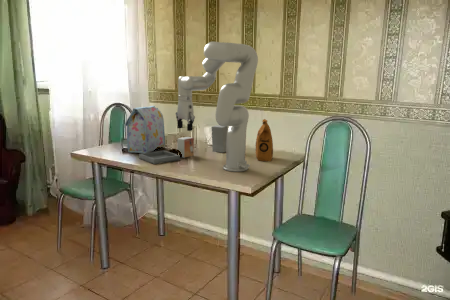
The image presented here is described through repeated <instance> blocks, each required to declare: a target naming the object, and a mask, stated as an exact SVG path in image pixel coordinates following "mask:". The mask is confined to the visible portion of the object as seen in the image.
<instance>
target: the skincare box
mask: <svg viewBox="0 0 450 300" xmlns="http://www.w3.org/2000/svg"><path fill="white" fill-rule="evenodd" d="M228 127H229V126H220V125H219V124H218V125H217V124H216V125H213V126H211V128H210V129H211V144H212V145H211V147H212V149H211V150H212V152H214V153H215V152H216V153H226V145H227V130H228Z"/></svg>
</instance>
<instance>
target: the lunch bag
mask: <svg viewBox="0 0 450 300" xmlns="http://www.w3.org/2000/svg"><path fill="white" fill-rule="evenodd" d="M124 125H125V127H126V144H127V145H126V147H127V152H128V153H130V154H131V153H136V154H137V153H139V154H142V153H149V152H155V151H156V150H155V149H156V148H157V147H158V146H161V145H163V146H164V147H165V145H166V140H165V139H166V137H165V135H166V134H165V119H164V115H163V113H162V111H161V110H160V109H159V108H158V107H156V105H150V106H141V107H133V108H132V111H131V113H130V114H129V116H128V118H127V119H126V121H125V123H124ZM154 150H155V151H154Z"/></svg>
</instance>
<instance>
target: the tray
mask: <svg viewBox="0 0 450 300" xmlns="http://www.w3.org/2000/svg"><path fill="white" fill-rule="evenodd" d="M138 159H139V160H142V161H144V162H147V163H150V164H152V165H158V164H163V163H169V162H176V161H180V160H181V157H180V155H177V153H173V152H172V151H171V152H170V151H168V150H155V151H151V152H148V153H139V154H138Z"/></svg>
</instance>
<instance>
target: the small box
mask: <svg viewBox="0 0 450 300" xmlns="http://www.w3.org/2000/svg"><path fill="white" fill-rule="evenodd" d="M194 139H195V138H194V137H190V136H185V137H179V138H177V140H176V141H177V145H176V149H177V150H179V151H180V152H181V154H182V157H181V158H184V159H185V158H188V157H189V158H190V157H194V155H195V153H194V151H195V150H194V146H195V142H194Z"/></svg>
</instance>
